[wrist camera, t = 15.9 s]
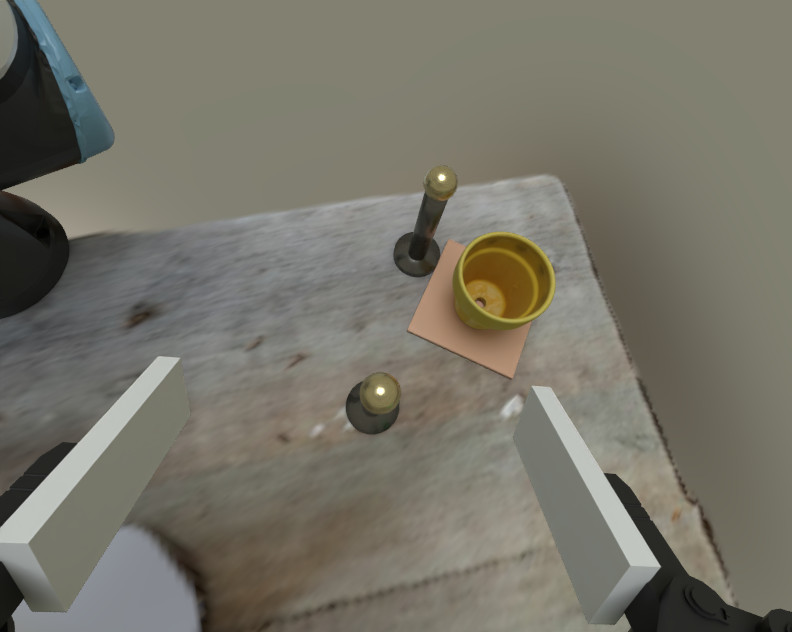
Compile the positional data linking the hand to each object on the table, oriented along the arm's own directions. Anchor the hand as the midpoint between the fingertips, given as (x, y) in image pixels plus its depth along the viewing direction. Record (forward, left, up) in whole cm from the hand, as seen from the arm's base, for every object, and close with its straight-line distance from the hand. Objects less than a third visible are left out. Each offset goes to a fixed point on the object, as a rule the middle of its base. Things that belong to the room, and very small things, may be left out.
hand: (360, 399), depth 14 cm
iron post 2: (-2, +22, -30) cm, 37 cm away
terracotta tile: (+8, +19, -30) cm, 36 cm away
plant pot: (+8, +19, -29) cm, 36 cm away
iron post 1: (+1, +2, -30) cm, 30 cm away
